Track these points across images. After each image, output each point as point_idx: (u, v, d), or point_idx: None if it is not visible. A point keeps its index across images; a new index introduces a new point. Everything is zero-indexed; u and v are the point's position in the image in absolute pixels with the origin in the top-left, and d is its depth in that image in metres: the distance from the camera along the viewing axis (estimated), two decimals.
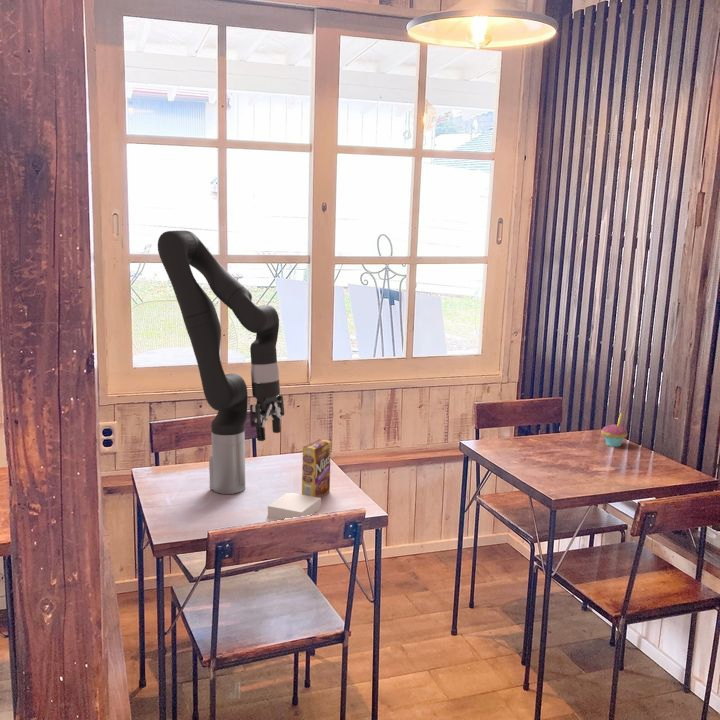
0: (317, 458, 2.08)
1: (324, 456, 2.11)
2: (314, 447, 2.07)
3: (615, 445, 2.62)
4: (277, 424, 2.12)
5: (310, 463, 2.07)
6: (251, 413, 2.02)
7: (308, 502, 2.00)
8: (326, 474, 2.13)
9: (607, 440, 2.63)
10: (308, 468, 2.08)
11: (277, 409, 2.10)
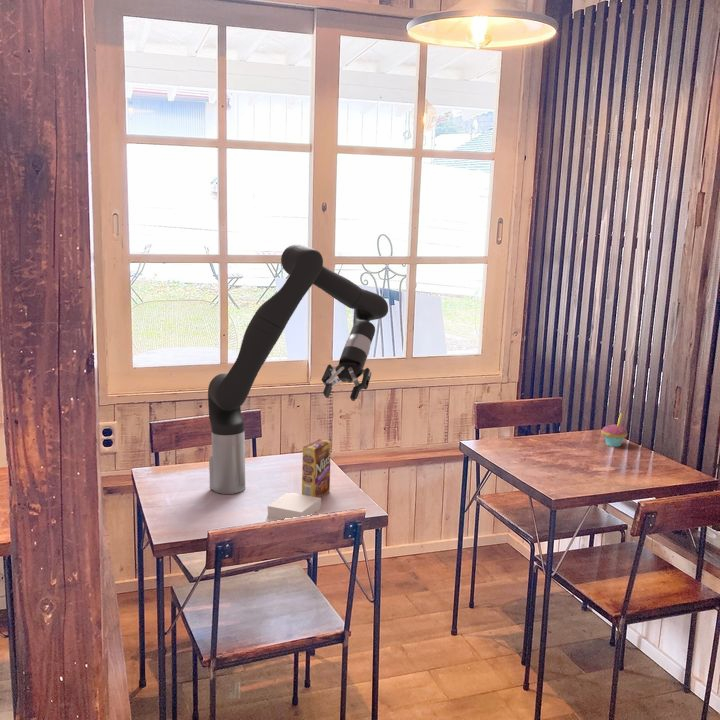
0: (317, 458, 2.08)
1: (324, 456, 2.11)
2: (314, 447, 2.07)
3: (615, 445, 2.62)
4: (330, 390, 2.24)
5: (310, 463, 2.07)
6: (367, 375, 2.21)
7: (308, 502, 2.00)
8: (326, 474, 2.13)
9: (607, 440, 2.63)
10: (308, 468, 2.08)
11: None
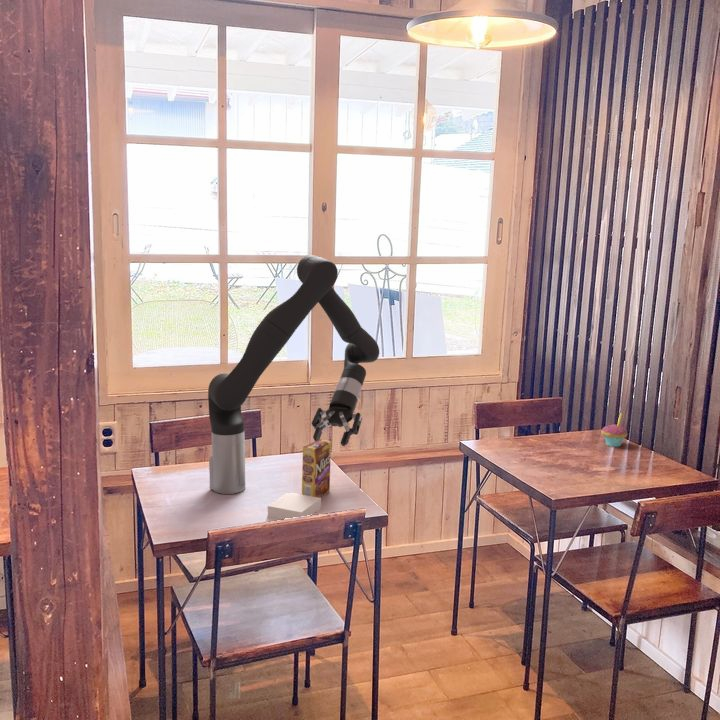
0: (317, 458, 2.08)
1: (324, 456, 2.11)
2: (314, 447, 2.07)
3: (615, 445, 2.62)
4: (320, 434, 2.22)
5: (310, 463, 2.07)
6: (358, 420, 2.19)
7: (308, 502, 2.00)
8: (326, 474, 2.13)
9: (607, 440, 2.63)
10: (308, 468, 2.08)
11: None
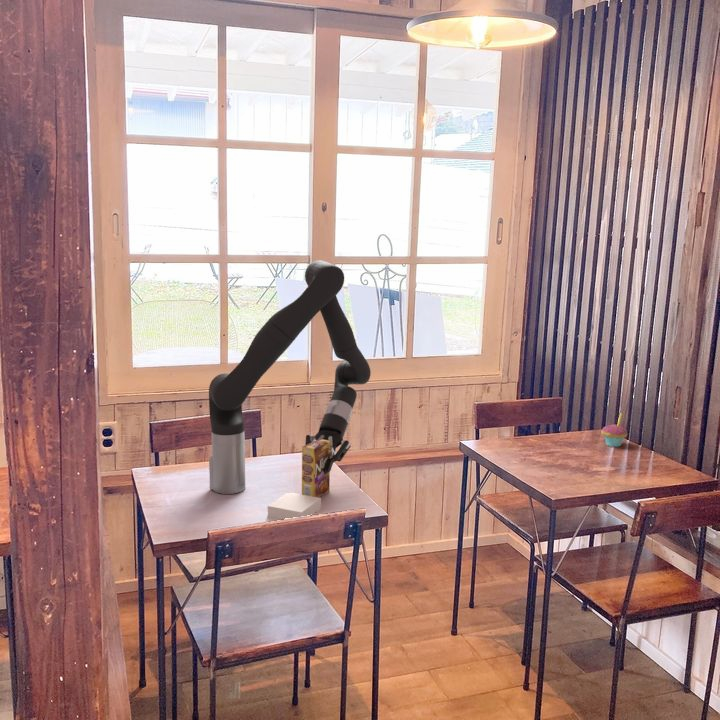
0: (316, 457, 2.08)
1: (323, 456, 2.11)
2: (313, 447, 2.07)
3: (615, 445, 2.62)
4: None
5: (310, 463, 2.07)
6: (344, 448, 2.13)
7: (308, 502, 2.00)
8: (326, 474, 2.13)
9: (607, 440, 2.63)
10: (307, 468, 2.08)
11: None
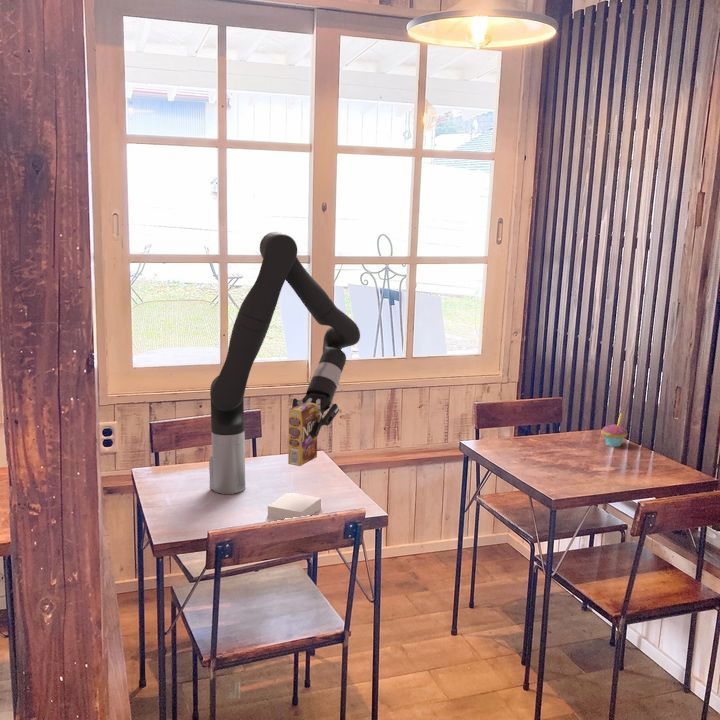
0: (304, 420, 1.98)
1: (311, 419, 2.01)
2: (301, 409, 1.98)
3: (615, 445, 2.62)
4: None
5: (297, 426, 1.98)
6: (333, 411, 2.04)
7: (308, 502, 2.00)
8: (313, 438, 2.04)
9: (607, 440, 2.63)
10: (294, 431, 1.98)
11: None
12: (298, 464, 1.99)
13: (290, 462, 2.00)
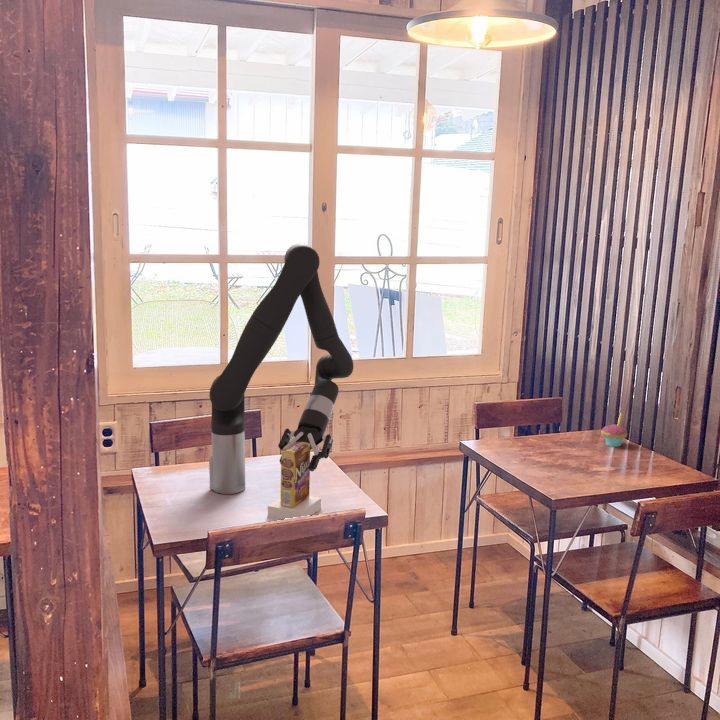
0: (296, 461, 1.95)
1: (303, 460, 1.98)
2: (293, 450, 1.95)
3: (615, 445, 2.62)
4: None
5: (290, 467, 1.94)
6: (328, 442, 2.01)
7: (308, 502, 2.00)
8: (306, 478, 2.01)
9: (607, 440, 2.63)
10: (287, 472, 1.95)
11: None
12: (290, 506, 1.96)
13: (282, 503, 1.97)
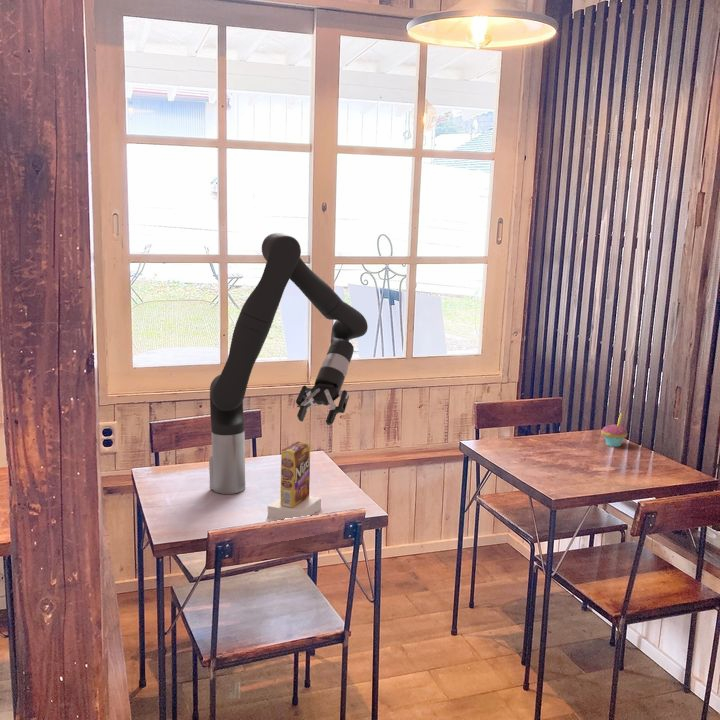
0: (296, 461, 1.95)
1: (303, 460, 1.98)
2: (293, 450, 1.95)
3: (615, 445, 2.62)
4: (304, 413, 2.10)
5: (289, 467, 1.94)
6: (345, 398, 2.08)
7: (308, 502, 2.00)
8: (306, 478, 2.01)
9: (607, 440, 2.63)
10: (287, 472, 1.95)
11: None
12: (290, 506, 1.96)
13: (282, 503, 1.97)
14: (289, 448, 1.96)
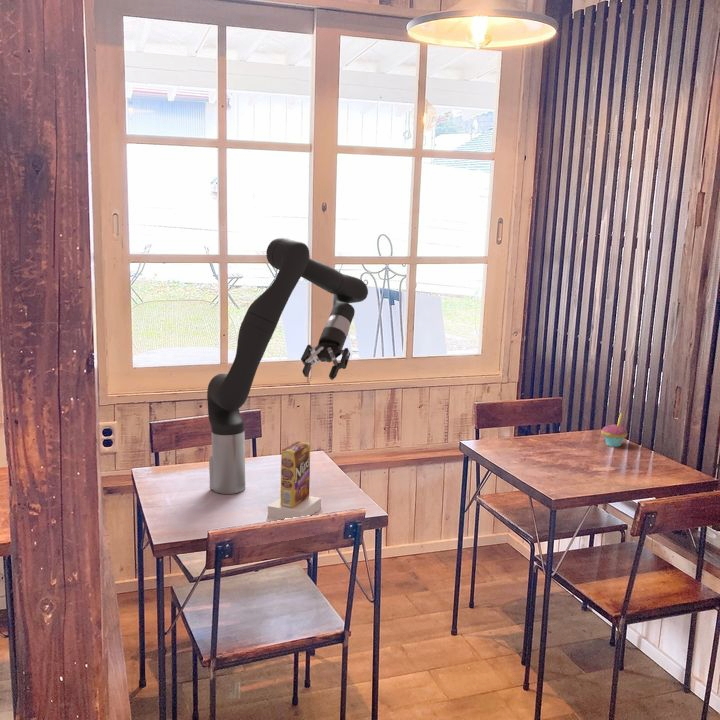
0: (296, 461, 1.95)
1: (303, 460, 1.98)
2: (293, 450, 1.95)
3: (615, 445, 2.62)
4: (309, 369, 2.27)
5: (290, 467, 1.94)
6: (346, 355, 2.24)
7: (308, 502, 2.00)
8: (306, 478, 2.01)
9: (607, 440, 2.63)
10: (287, 472, 1.95)
11: None
12: (290, 506, 1.96)
13: (282, 503, 1.97)
14: (289, 448, 1.96)
